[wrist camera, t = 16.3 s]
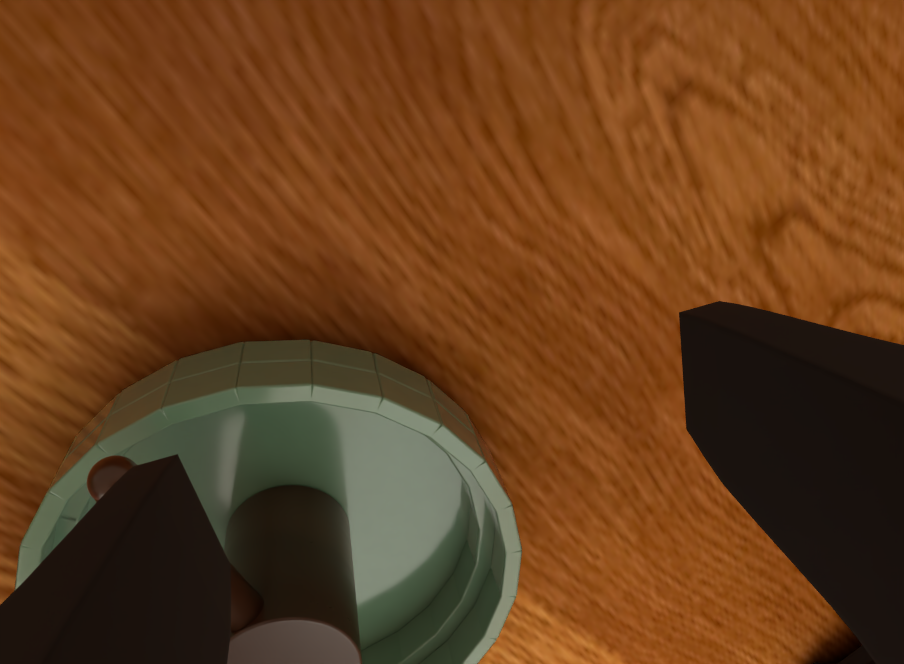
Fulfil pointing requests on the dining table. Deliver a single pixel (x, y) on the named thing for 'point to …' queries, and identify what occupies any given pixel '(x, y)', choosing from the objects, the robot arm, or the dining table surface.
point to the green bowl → (326, 480)
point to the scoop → (281, 574)
